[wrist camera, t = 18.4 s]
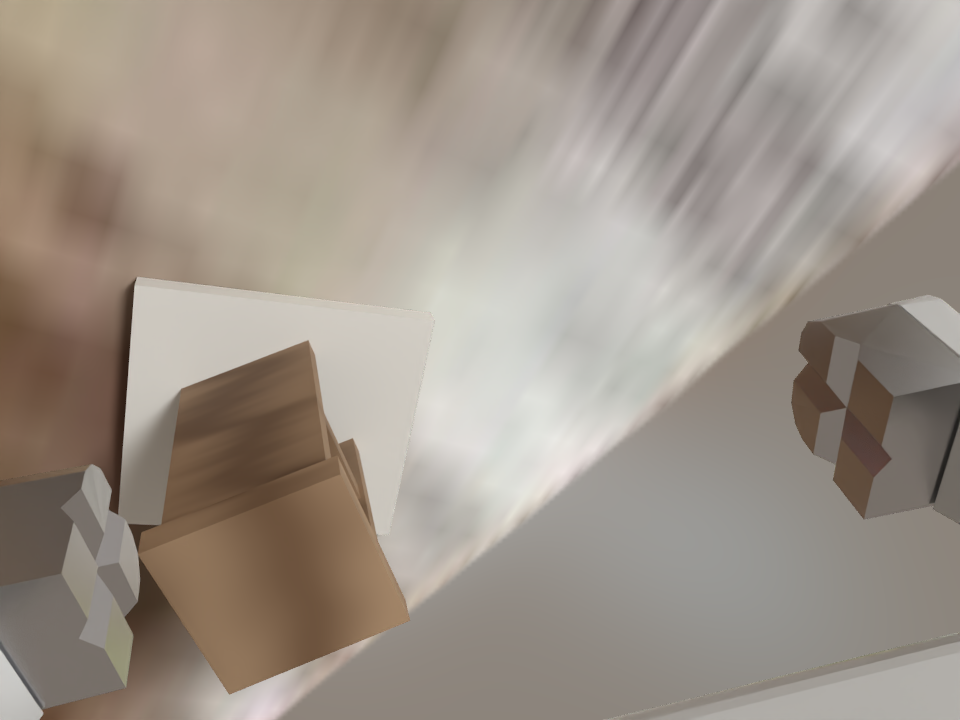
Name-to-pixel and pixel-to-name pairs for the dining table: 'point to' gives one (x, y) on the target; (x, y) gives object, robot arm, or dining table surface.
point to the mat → (253, 335)
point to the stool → (268, 525)
